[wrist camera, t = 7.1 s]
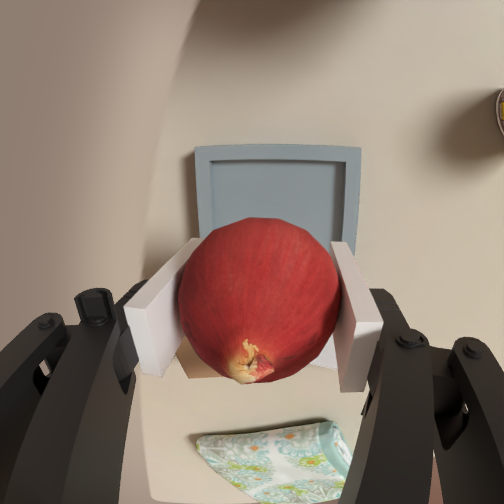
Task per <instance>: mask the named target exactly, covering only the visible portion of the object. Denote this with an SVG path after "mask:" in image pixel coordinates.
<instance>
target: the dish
mask: <svg viewBox="0 0 504 504" xmlns="http://www.w3.org/2000/svg"><path fill="white" fill-rule="evenodd" d="M195 170H196V189H197V205H198V220H199V234H200V238H206V237H207V236H208V235H209V234H210V233H211V232H212V231H213V230H215V229H218V228H220V227H223V226H226V225H229V224H231V223H234V222H237V221H240V220H243V219H245V218H248V217H257V218H279V219H281V220H284V221H286V222H289V223H291V224H293V225H296V226H298V227H300V228H303V229H305V230H307V231H308V232H309V233H310V234H311V235H312V236H313V237H314V238H315V239H316V240H317V241H318V242H319V243H320V244H321V245H322V246H323V247H324V248H325V249H326V250H327V252H328V253H329V255H330V242H331V241H333V242H347V244H348V246H349V248H350V250H351V252H352V254H353V256H354V255H355V245H356V235H357V224H358V211H359V195H360V175H361V148H358V147H344V146H326V145H299V144H246V145H219V146H201V147H195Z"/></svg>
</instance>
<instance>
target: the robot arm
mask: <svg viewBox="0 0 504 504" xmlns="http://www.w3.org/2000/svg"><path fill="white" fill-rule="evenodd" d="M204 239H205V238H191V239H190V240H189V241H188V242H187V243H186V244H185V245H184V246H183V247H182V248H181V249H180V250H179V251H178V252H177V253H176V254H175V255H174V256H173V257H172V258H171V259H170V260H169V261H168V262H167V263H166V264H165V265H163V266H162V267H161V268H160V269H159V270H158V271H157V272H156V274H155V275H154V276H153V277H152V278H151V279H150V280H143V281H141V282H139V283H137V284H135V285H134V286H133V287H132V288H131V289H130V290H129V292H127V293H126V294H125V295H124V296H123V297H122V298H121V299H120V300H119V301H118V302H117V303H116V304H115V305H114V301H113V297H112V293H111V292H110V290H108V289H105V288H94V289H89V290H86V291H83V292H81V293H80V294H78V295H77V296H76V297H75V298H74V300H75V303H76V306H77V310H78V313H79V316H80V319H81V321H80V323H79V325H65V324H64V321H63V318H62V316H61V315H60V314H58V313H45V314H43V315H41V316H39V317H38V318H36V319H35V320H33V321H32V322H31V323H30V324H29V325H28V326H27V327H26V328H25V329H24V330H23V331H21V332H20V333H19V334H18V335H17V336H16V337H15V338H14V339H13V340H12V341H11V342H10V343H9V344H8V345H7V346H6V347H5V348H4V349H3V350H2V351H1V352H0V504H118V501H119V490H120V480H121V471H122V463H123V455H124V447H125V441H126V434H127V428H128V422H129V416H130V410H131V404H132V399H133V394H134V388H135V383H136V375H135V372H134V368H135V366H136V365H137V363H138V362H139V364H140V367H141V370H142V373H143V374H147V375H152V376H157V377H163V375H164V373H165V371H166V370H167V368H168V366H169V364H170V362H171V360H172V358H173V357H174V355H175V353H176V351H177V349H178V347H179V346H180V344H181V342H182V340H183V338H184V336H185V333H184V332H183V328H182V325H181V320H180V312H179V304H178V292H179V286H180V283H181V280H182V277H183V273H184V270H185V267H186V264H187V261H188V259H189V258H190V256H191V254H192V252H193V251H194V250H195V249H196V248H197V247H198V246H199V245H200V244H201V242H202V241H203V240H204ZM330 256H331V258H332V261H333V264H334V266H335V269H336V272H337V275H338V277H339V280H340V284H341V291H342V297H341V303H340V308H339V314H338V319H337V323H336V327H335V330H334V332H333V340H334V346H335V353H336V360H337V368H338V375H339V383H340V391H341V392H364V389H365V386H366V383H367V380H368V384H369V388H370V391H369V394H368V397H367V399H366V402H365V405H364V408H363V410H362V413H361V415H363V418H362V422H361V426H360V431H359V435H358V439H357V442H356V446H355V450H354V454H353V457H352V461H351V464H350V468H349V471H348V474H347V477H346V481H345V484H344V487H343V490H342V493H341V496H340V499H339V501H338V504H428V502H429V495H430V486H431V477H432V464H433V449H434V453H435V458H436V463H437V468H438V473H439V478H440V484H441V490H442V496H443V503H444V504H504V372H503V370H502V368H501V367H500V365H499V363H498V362H497V360H496V358H495V357H494V355H493V354H492V352H491V350H490V349H489V348H488V347H487V345H486V344H485V343H483V342H482V341H480V340H479V339H475V338H473V337H462V338H459V339H457V340H456V341H455V343H454V345H453V348H452V350H450V349H443V348H436V347H432V346H430V345H429V342H428V339H427V338H426V337H425V336H424V335H423V334H422V333H421V332H419V331H417V330H415V329H411V328H410V327H409V325H408V324H407V322H406V320H405V318H404V316H403V314H402V312H401V310H400V309H399V307H398V305H397V304H396V301H395V300H394V298H393V296H392V295H391V294H390V293H389V292H387V291H386V290H385V289H369V288H368V286H367V283H366V281H365V279H364V277H363V275H362V273H361V271H360V268H359V266H358V264H357V262H356V260H355V258H354V256H353V254H352V252H351V250H350V248H349V246H348V244H347V242H333V241H331V242H330ZM43 360H44V361H45V363H46V365H47V367H48V369H49V371H50V373H49V374H48V375H47V376H45V375H44V374H43V372H42V370H41V368H40V366H39V364H40V363H41V362H42V361H43ZM465 404H466V406H467V408H468V411H467V409H466V406H465Z"/></svg>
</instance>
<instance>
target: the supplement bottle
mask: <svg viewBox="0 0 504 504" xmlns="http://www.w3.org/2000/svg"><path fill="white" fill-rule="evenodd" d="M496 115H497V120H498V124H499V127H500V129H501V131H502V133H503V135H504V89H503V90H502V91H501V92H500V94H499V96H498V98H497V103H496Z"/></svg>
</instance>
